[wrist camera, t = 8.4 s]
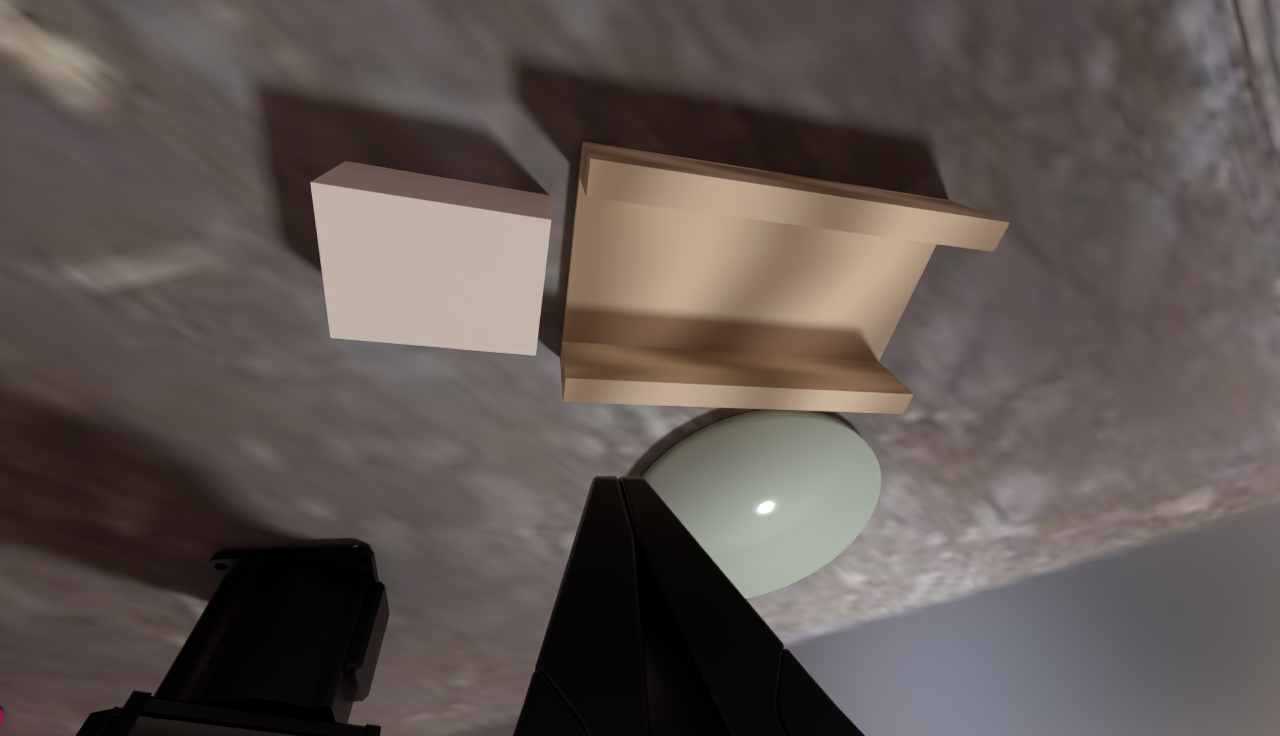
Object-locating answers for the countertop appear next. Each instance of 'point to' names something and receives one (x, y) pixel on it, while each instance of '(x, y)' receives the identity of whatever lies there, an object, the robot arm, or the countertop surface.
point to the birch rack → (743, 284)
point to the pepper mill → (1, 715)
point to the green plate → (770, 493)
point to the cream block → (431, 259)
